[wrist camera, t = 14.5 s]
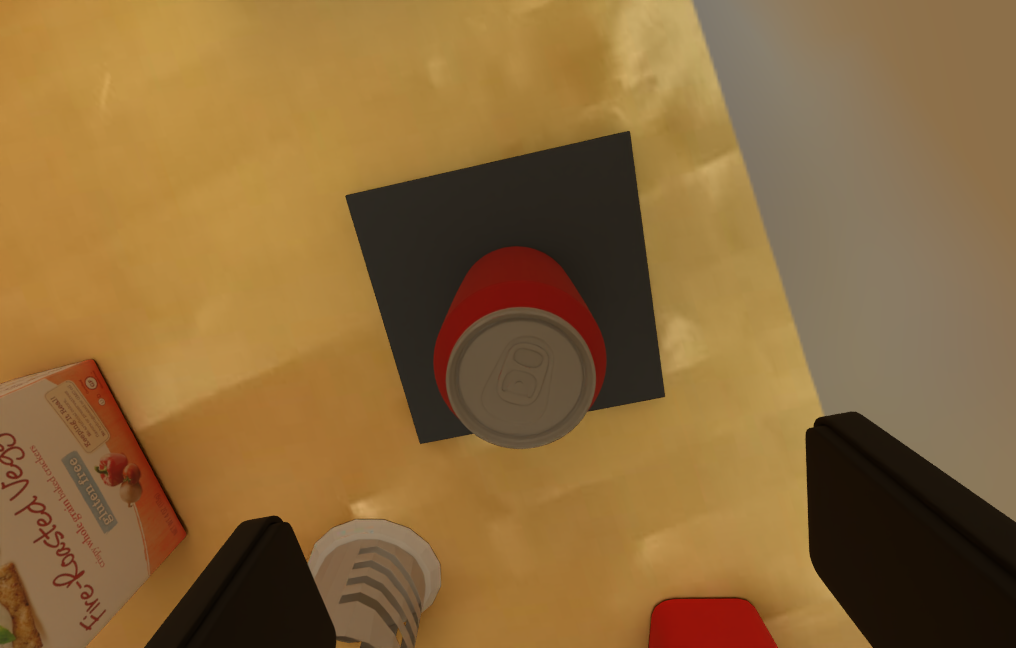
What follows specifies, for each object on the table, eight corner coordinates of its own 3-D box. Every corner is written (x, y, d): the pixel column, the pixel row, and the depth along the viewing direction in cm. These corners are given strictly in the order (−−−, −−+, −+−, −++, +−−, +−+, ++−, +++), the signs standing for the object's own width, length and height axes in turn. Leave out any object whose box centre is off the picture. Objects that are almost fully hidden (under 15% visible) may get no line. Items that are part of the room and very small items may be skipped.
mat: (626, 131, 27) (630, 130, 26) (661, 391, 31) (665, 397, 30) (349, 195, 28) (344, 195, 27) (422, 438, 32) (420, 444, 31)
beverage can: (446, 337, 29) (406, 439, 18) (476, 229, 27) (452, 264, 16) (552, 367, 30) (580, 485, 18) (588, 262, 28) (645, 321, 16)
